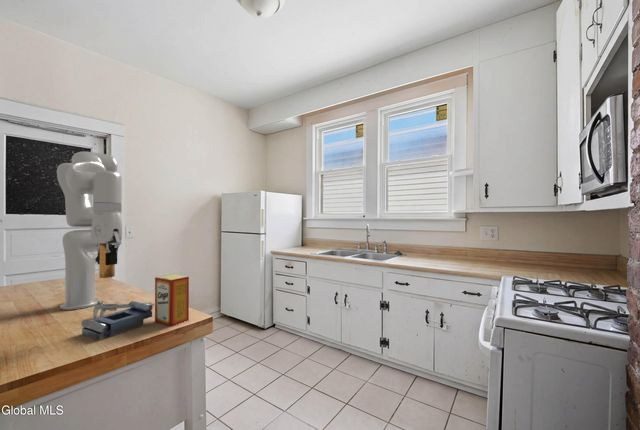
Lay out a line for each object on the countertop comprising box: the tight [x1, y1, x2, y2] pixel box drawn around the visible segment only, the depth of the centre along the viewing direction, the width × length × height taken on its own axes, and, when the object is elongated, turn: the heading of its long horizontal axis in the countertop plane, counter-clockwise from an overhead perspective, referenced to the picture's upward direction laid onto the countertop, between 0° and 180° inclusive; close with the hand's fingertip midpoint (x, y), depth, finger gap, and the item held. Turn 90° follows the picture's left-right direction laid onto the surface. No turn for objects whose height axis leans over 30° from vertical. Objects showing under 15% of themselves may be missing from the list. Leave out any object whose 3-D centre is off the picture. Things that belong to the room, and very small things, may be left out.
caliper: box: [92, 300, 155, 319], centre depth 110 cm, size 20×1×6 cm, turn 142°
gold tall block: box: [99, 241, 116, 279], centre depth 92 cm, size 4×4×12 cm
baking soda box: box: [154, 273, 190, 328], centre depth 99 cm, size 10×6×16 cm
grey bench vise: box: [81, 300, 154, 341], centre depth 93 cm, size 10×16×6 cm, turn 154°
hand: (107, 263), depth 92 cm, fingers closed on gold tall block, 4 cm apart
